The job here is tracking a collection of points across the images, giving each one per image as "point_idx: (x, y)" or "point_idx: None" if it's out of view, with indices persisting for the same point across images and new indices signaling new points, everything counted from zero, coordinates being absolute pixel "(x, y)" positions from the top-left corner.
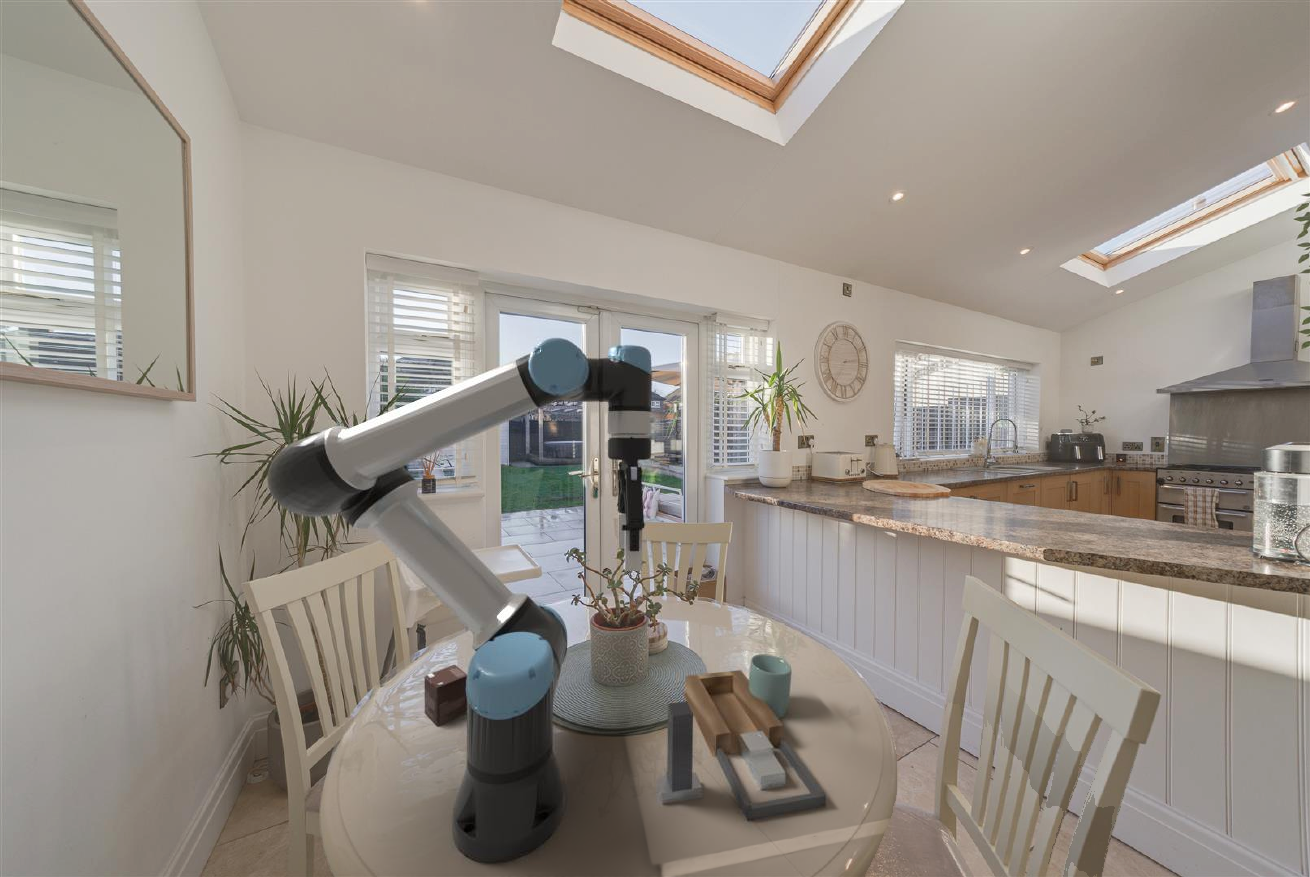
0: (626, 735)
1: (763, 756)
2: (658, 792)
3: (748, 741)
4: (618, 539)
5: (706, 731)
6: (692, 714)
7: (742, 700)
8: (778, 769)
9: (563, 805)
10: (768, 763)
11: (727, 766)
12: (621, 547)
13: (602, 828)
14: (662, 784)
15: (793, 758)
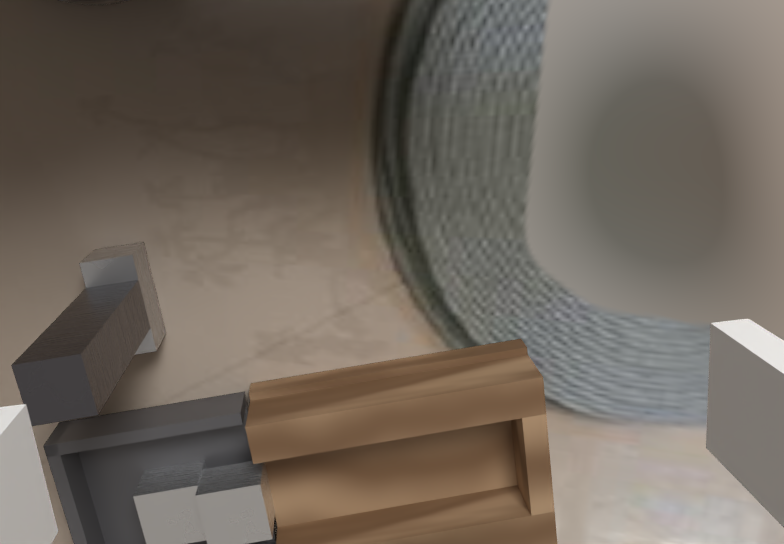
0: (373, 165)
1: (199, 516)
2: (123, 250)
3: (231, 498)
4: (761, 361)
5: (325, 394)
6: (32, 423)
7: (445, 510)
8: (156, 538)
9: (80, 3)
10: (175, 522)
11: (176, 427)
12: (714, 357)
13: (47, 109)
14: (110, 266)
15: None
